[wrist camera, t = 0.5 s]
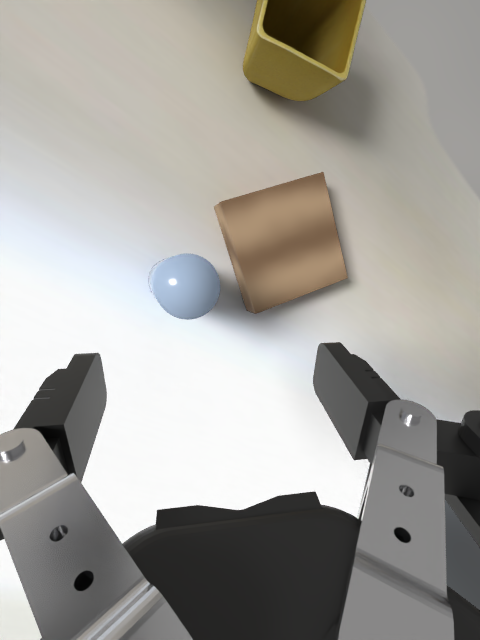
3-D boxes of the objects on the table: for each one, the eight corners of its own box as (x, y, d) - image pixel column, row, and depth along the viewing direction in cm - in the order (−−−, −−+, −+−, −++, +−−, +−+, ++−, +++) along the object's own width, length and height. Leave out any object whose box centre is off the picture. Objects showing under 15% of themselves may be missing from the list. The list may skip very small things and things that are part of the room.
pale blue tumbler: (141, 266, 34) (144, 265, 23) (185, 252, 36) (208, 245, 24) (157, 309, 36) (168, 328, 24) (199, 294, 37) (228, 306, 25)
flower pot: (318, 43, 37) (373, -25, 28) (299, 123, 37) (347, 81, 29) (245, 3, 34) (281, -86, 25) (225, 91, 34) (255, 33, 26)
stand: (214, 207, 36) (220, 201, 33) (309, 178, 39) (323, 171, 36) (246, 310, 39) (255, 313, 36) (333, 277, 41) (347, 277, 39)
